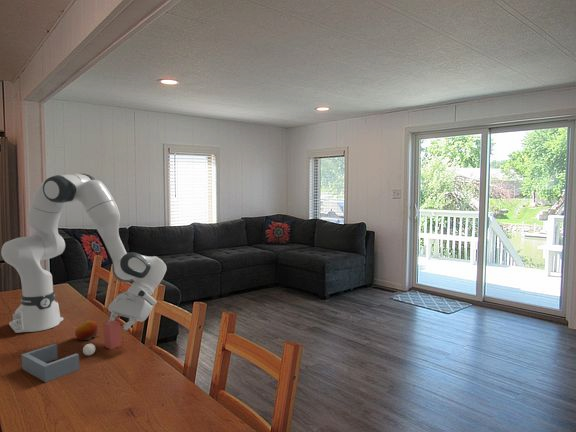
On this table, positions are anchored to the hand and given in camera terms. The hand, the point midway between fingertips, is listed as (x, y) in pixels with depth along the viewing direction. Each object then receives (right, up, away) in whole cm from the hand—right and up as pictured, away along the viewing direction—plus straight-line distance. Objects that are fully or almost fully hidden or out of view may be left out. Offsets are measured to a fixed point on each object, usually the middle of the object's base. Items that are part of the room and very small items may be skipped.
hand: (116, 326), depth 152 cm
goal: (-13, -9, -18) cm, 24 cm away
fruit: (-15, -7, +7) cm, 18 cm away
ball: (-6, -8, -8) cm, 13 cm away
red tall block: (-1, -7, -1) cm, 7 cm away
